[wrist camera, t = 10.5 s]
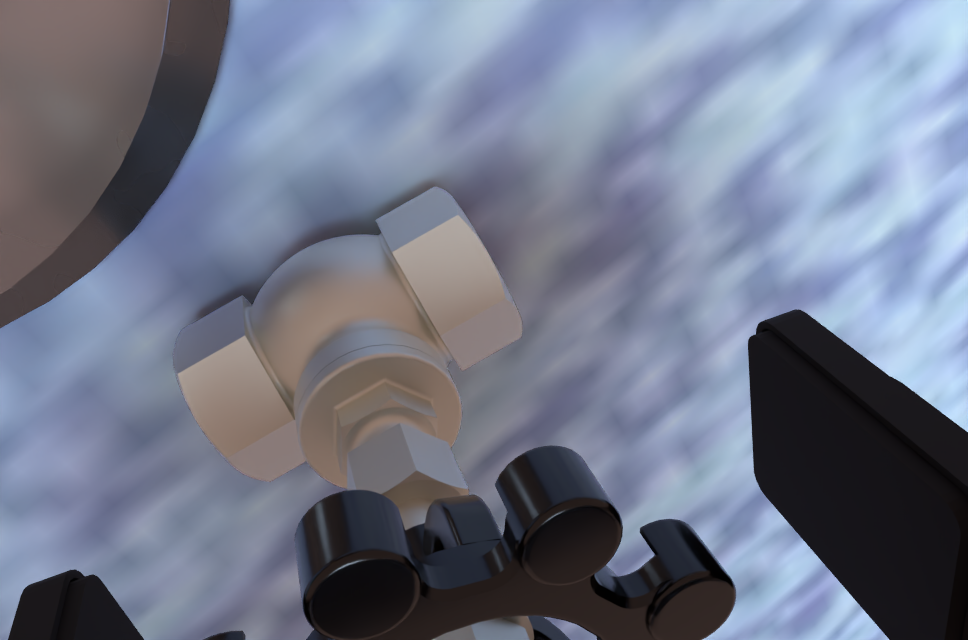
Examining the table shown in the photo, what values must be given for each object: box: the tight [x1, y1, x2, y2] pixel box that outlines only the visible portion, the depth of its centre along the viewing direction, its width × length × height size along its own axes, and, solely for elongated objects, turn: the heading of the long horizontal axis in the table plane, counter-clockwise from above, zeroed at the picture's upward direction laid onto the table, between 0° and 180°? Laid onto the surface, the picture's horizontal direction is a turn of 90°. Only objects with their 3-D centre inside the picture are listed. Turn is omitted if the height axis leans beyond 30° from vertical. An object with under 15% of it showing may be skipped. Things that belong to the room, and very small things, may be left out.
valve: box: [173, 186, 736, 640], centre depth 14 cm, size 7×7×12 cm
